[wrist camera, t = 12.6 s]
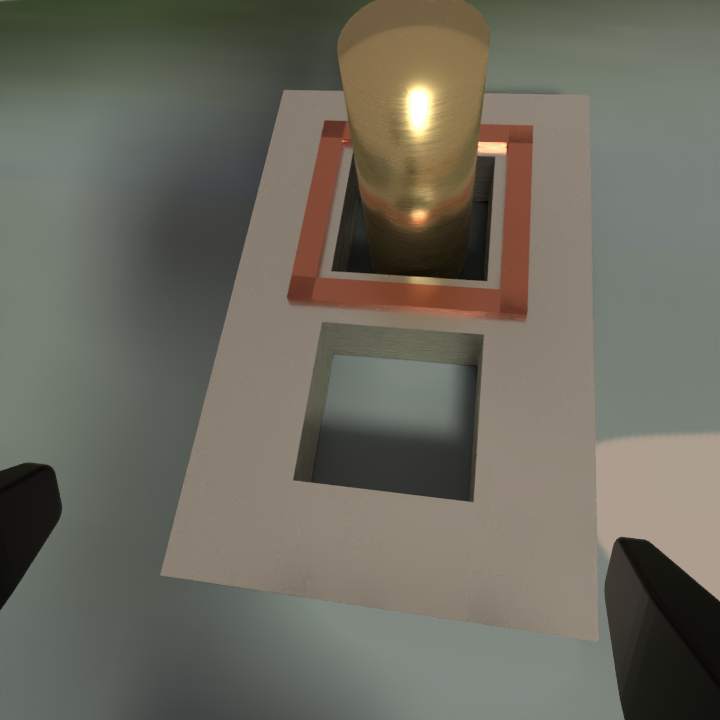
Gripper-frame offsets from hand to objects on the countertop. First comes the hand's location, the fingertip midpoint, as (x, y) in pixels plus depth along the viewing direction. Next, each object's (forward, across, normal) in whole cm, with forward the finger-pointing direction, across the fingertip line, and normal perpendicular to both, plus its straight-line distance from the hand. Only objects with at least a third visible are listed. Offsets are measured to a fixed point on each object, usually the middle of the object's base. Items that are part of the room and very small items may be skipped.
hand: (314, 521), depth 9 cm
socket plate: (+16, 0, +3) cm, 17 cm away
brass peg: (+20, 0, 0) cm, 20 cm away
